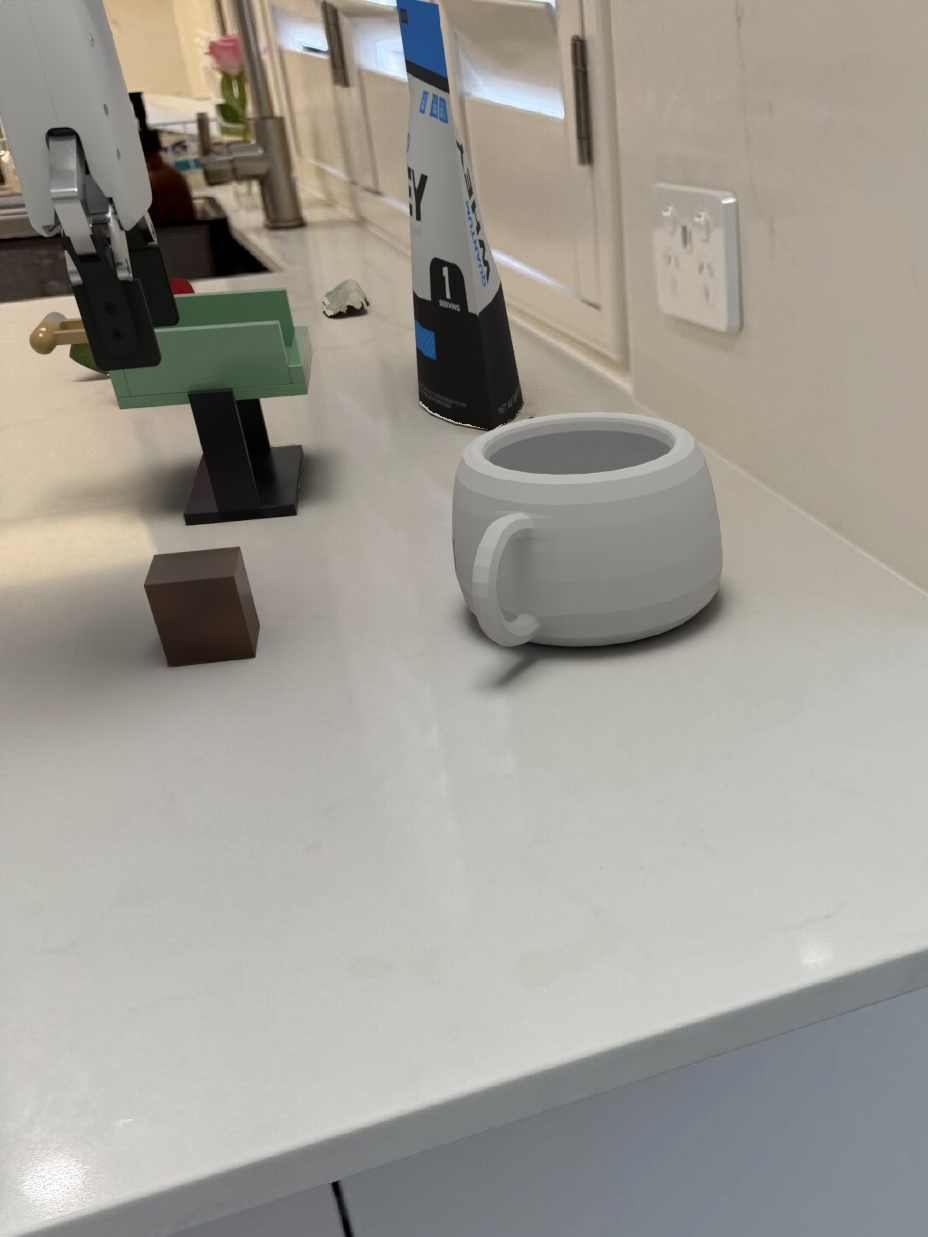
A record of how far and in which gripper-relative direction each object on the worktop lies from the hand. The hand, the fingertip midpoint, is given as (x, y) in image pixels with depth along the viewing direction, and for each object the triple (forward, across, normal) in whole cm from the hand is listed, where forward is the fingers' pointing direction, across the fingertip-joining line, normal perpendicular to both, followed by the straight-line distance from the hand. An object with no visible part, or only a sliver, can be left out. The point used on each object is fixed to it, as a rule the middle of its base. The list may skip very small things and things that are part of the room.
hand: (142, 346), depth 73 cm
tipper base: (+16, -29, 0) cm, 34 cm away
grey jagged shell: (+17, -95, +7) cm, 97 cm away
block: (+16, +2, 0) cm, 17 cm away
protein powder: (+17, -50, +19) cm, 56 cm away
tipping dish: (+8, -29, -3) cm, 31 cm away
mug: (+17, +4, +22) cm, 28 cm away
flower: (+16, -72, -11) cm, 75 cm away
